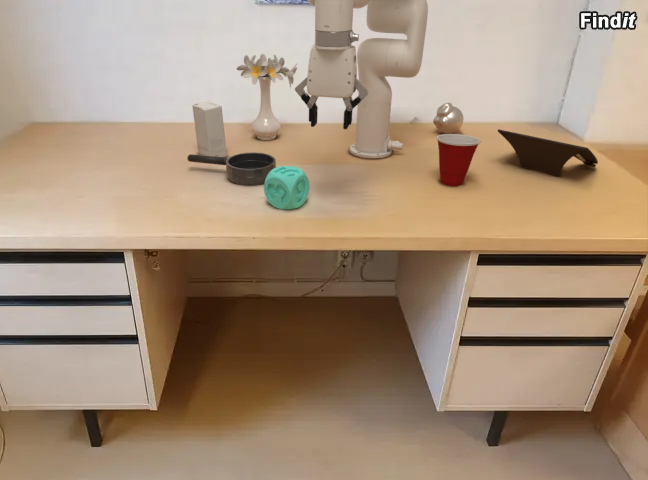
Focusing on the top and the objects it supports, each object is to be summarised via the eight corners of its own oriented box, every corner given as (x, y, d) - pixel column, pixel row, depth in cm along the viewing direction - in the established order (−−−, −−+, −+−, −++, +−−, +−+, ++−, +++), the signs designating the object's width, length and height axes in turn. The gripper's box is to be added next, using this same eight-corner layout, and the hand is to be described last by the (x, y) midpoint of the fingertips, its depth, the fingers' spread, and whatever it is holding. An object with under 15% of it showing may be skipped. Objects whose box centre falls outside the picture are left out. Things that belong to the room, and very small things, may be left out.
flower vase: (298, 142, 173) (298, 58, 160) (239, 143, 173) (235, 59, 160) (295, 130, 184) (296, 50, 171) (240, 131, 184) (236, 51, 171)
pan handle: (230, 164, 150) (229, 156, 149) (227, 166, 149) (226, 159, 148) (189, 160, 153) (188, 153, 152) (186, 162, 151) (185, 155, 150)
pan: (281, 170, 153) (281, 154, 151) (267, 188, 142) (266, 171, 140) (237, 165, 156) (236, 150, 154) (219, 183, 145) (218, 166, 143)
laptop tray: (592, 190, 154) (606, 158, 152) (576, 176, 136) (591, 139, 134) (512, 170, 167) (523, 140, 166) (487, 155, 149) (500, 121, 147)
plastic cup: (474, 177, 148) (482, 132, 141) (471, 192, 139) (480, 146, 133) (432, 172, 151) (438, 129, 144) (428, 187, 142) (434, 141, 136)
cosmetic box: (227, 157, 162) (224, 106, 155) (209, 161, 160) (204, 109, 152) (214, 149, 168) (210, 100, 161) (196, 153, 166) (191, 103, 158)
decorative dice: (283, 193, 139) (283, 163, 135) (309, 201, 135) (310, 170, 131) (263, 204, 134) (263, 173, 129) (290, 212, 130) (290, 180, 125)
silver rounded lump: (430, 129, 184) (434, 98, 179) (459, 130, 183) (464, 99, 178) (432, 137, 177) (436, 105, 171) (463, 138, 175) (468, 106, 170)
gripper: (378, 38, 113) (371, 124, 123) (296, 35, 118) (296, 118, 127) (372, 44, 107) (366, 134, 117) (287, 40, 111) (287, 128, 121)
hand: (330, 125), depth 122 cm, fingers open, 6 cm apart
